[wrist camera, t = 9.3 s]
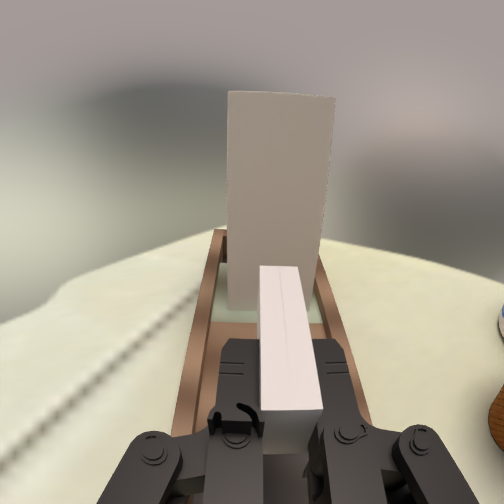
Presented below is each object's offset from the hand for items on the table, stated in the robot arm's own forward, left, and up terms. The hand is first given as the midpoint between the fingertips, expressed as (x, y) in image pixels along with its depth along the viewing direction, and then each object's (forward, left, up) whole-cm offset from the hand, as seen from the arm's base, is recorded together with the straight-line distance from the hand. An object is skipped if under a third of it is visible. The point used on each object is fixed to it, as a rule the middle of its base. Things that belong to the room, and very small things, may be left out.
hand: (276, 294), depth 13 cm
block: (+7, -8, -7) cm, 13 cm away
